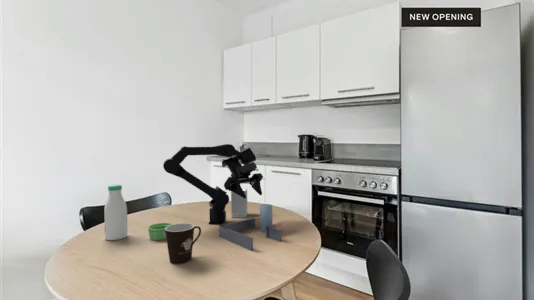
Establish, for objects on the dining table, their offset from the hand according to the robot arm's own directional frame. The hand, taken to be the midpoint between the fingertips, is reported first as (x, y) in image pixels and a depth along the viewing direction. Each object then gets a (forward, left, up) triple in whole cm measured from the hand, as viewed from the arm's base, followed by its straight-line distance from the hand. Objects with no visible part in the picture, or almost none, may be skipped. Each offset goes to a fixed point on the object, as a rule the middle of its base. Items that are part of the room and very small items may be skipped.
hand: (253, 196), depth 123 cm
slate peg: (+6, -6, -13) cm, 15 cm away
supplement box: (-9, +17, -13) cm, 23 cm away
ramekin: (-34, -15, -13) cm, 40 cm away
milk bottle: (-51, -16, -13) cm, 55 cm away
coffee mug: (-17, -35, -13) cm, 41 cm away
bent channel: (+2, -14, -13) cm, 19 cm away
